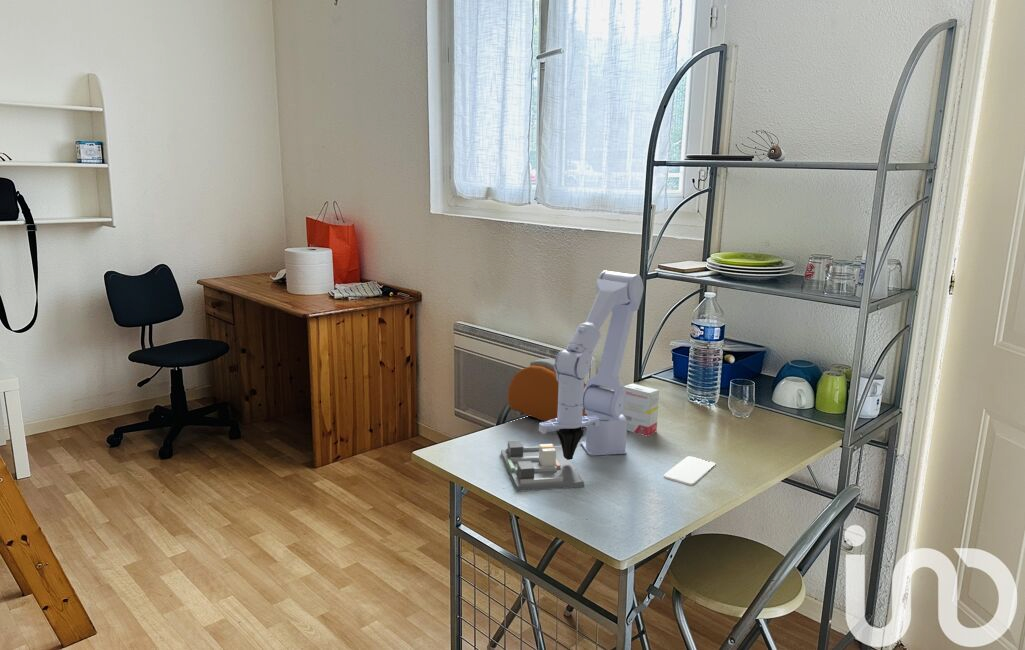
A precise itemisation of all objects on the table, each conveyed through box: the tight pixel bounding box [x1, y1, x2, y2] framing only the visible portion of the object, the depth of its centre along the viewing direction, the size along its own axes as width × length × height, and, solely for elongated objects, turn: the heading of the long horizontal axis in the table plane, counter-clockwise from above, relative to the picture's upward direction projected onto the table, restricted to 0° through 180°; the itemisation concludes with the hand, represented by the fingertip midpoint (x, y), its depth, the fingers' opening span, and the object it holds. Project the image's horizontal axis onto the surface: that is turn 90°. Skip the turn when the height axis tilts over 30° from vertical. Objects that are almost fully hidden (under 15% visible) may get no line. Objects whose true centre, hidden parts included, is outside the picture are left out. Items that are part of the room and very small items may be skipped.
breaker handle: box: [538, 443, 556, 466], centre depth 174 cm, size 3×4×4 cm
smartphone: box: [663, 455, 717, 486], centre depth 177 cm, size 7×1×15 cm
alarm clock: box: [507, 358, 587, 422], centre depth 205 cm, size 23×9×17 cm, turn 46°
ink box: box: [622, 383, 660, 437], centre depth 199 cm, size 9×5×12 cm, turn 51°
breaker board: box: [500, 440, 585, 492], centre depth 174 cm, size 15×20×4 cm
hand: (568, 457), depth 175 cm, fingers closed
